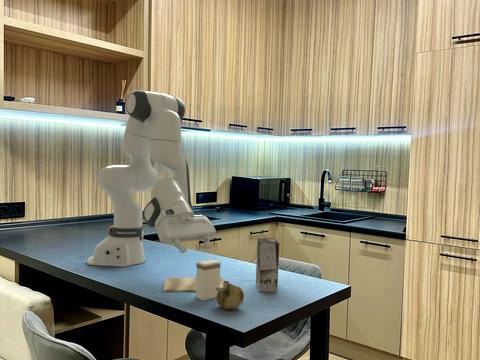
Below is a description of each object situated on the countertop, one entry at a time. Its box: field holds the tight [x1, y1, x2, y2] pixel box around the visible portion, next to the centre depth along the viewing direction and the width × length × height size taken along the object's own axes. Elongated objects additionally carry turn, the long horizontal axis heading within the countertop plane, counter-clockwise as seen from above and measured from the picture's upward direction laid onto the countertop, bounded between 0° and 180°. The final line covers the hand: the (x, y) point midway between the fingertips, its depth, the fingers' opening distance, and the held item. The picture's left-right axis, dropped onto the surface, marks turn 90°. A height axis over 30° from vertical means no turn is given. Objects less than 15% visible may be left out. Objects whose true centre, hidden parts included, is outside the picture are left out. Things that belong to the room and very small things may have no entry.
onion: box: [215, 280, 245, 310], centre depth 123 cm, size 8×8×8 cm
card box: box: [195, 258, 221, 301], centre depth 132 cm, size 4×6×11 cm
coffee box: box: [255, 237, 280, 293], centre depth 143 cm, size 9×6×16 cm
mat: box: [162, 277, 225, 293], centre depth 144 cm, size 20×14×1 cm
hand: (196, 250), depth 137 cm, fingers open, 8 cm apart
